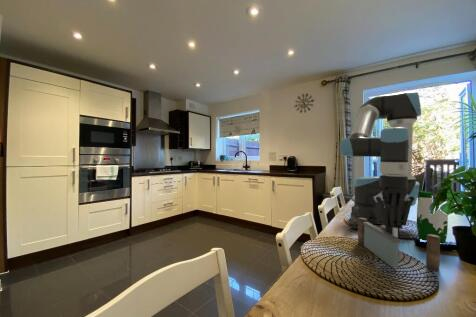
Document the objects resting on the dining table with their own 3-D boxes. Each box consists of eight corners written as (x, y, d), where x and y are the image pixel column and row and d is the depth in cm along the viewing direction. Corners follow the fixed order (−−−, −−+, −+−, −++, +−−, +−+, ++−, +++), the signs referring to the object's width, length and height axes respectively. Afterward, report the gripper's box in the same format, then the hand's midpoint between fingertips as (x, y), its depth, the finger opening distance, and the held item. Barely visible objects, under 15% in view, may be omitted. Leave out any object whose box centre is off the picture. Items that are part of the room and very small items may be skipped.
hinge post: (360, 242, 84) (360, 217, 84) (368, 245, 82) (368, 219, 82) (356, 244, 82) (356, 218, 82) (364, 247, 80) (364, 220, 80)
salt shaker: (364, 232, 95) (364, 206, 95) (349, 231, 96) (350, 205, 96) (359, 228, 101) (359, 203, 100) (345, 227, 102) (346, 202, 102)
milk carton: (415, 236, 91) (416, 189, 91) (444, 241, 86) (446, 192, 86) (417, 242, 84) (418, 192, 84) (448, 249, 79) (450, 195, 79)
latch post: (427, 265, 67) (428, 233, 67) (440, 269, 65) (441, 236, 65) (424, 267, 65) (425, 235, 65) (437, 272, 63) (438, 238, 63)
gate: (362, 245, 80) (363, 221, 80) (367, 245, 80) (368, 221, 80) (393, 269, 64) (393, 239, 63) (399, 269, 64) (400, 239, 63)
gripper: (382, 176, 66) (381, 251, 66) (422, 176, 66) (421, 251, 67) (366, 174, 73) (365, 242, 74) (402, 174, 74) (401, 241, 74)
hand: (392, 246), depth 70 cm, fingers closed
